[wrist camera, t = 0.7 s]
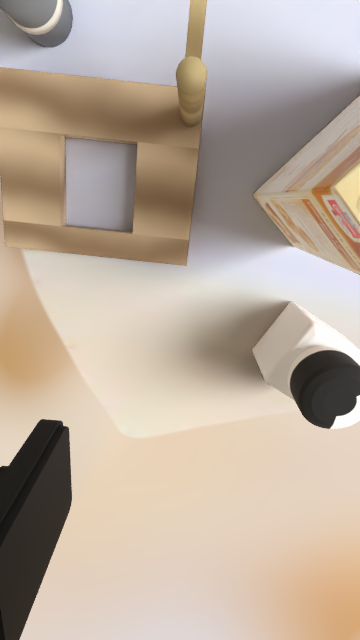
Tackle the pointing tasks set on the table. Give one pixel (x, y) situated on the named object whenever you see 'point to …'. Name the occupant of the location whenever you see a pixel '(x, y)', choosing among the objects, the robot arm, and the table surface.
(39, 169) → the square wooden frame
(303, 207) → the coffeecake box
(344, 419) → the medicine bottle
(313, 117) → the table surface
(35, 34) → the grey banded cylinder
